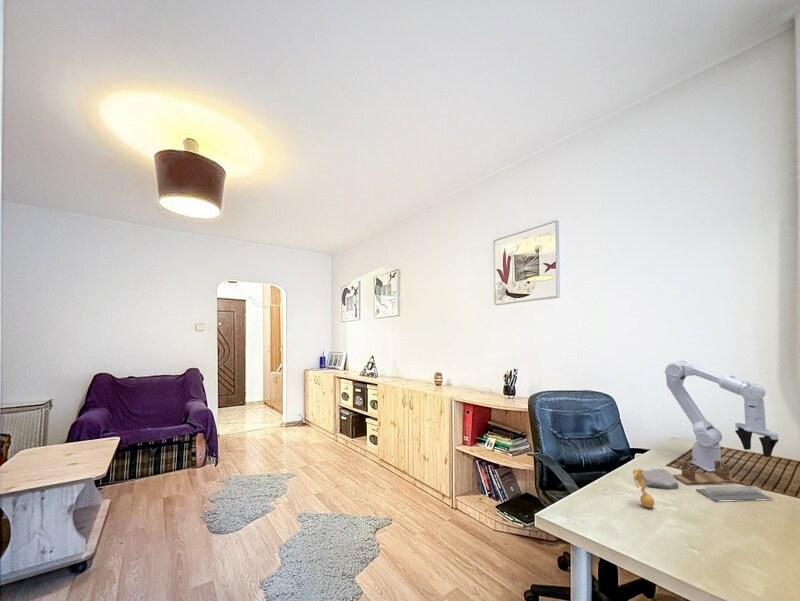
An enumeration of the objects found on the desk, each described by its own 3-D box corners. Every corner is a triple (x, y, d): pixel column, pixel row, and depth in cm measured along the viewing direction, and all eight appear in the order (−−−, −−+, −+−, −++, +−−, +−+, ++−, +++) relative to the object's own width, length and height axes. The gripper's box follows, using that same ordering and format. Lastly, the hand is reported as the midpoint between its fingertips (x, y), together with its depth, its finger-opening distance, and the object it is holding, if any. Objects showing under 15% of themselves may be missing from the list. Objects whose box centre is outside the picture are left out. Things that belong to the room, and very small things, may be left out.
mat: (696, 490, 139) (696, 489, 139) (750, 489, 140) (750, 487, 140) (714, 502, 131) (714, 500, 131) (772, 500, 132) (772, 498, 132)
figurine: (650, 513, 125) (648, 476, 125) (629, 506, 130) (628, 470, 130) (658, 504, 130) (657, 468, 131) (638, 498, 135) (637, 463, 135)
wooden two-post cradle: (686, 485, 144) (686, 467, 144) (672, 477, 151) (672, 460, 151) (739, 483, 144) (738, 466, 145) (723, 475, 151) (722, 459, 152)
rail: (710, 495, 134) (710, 490, 135) (705, 493, 136) (705, 487, 137) (761, 494, 135) (760, 488, 135) (755, 491, 137) (755, 486, 137)
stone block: (681, 494, 141) (664, 477, 151) (682, 482, 140) (665, 465, 150) (648, 495, 142) (633, 477, 152) (648, 483, 141) (633, 466, 151)
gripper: (727, 412, 154) (729, 446, 154) (764, 422, 140) (767, 460, 139) (743, 411, 155) (745, 445, 154) (782, 421, 140) (784, 459, 140)
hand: (757, 452), depth 147 cm, fingers open, 7 cm apart
